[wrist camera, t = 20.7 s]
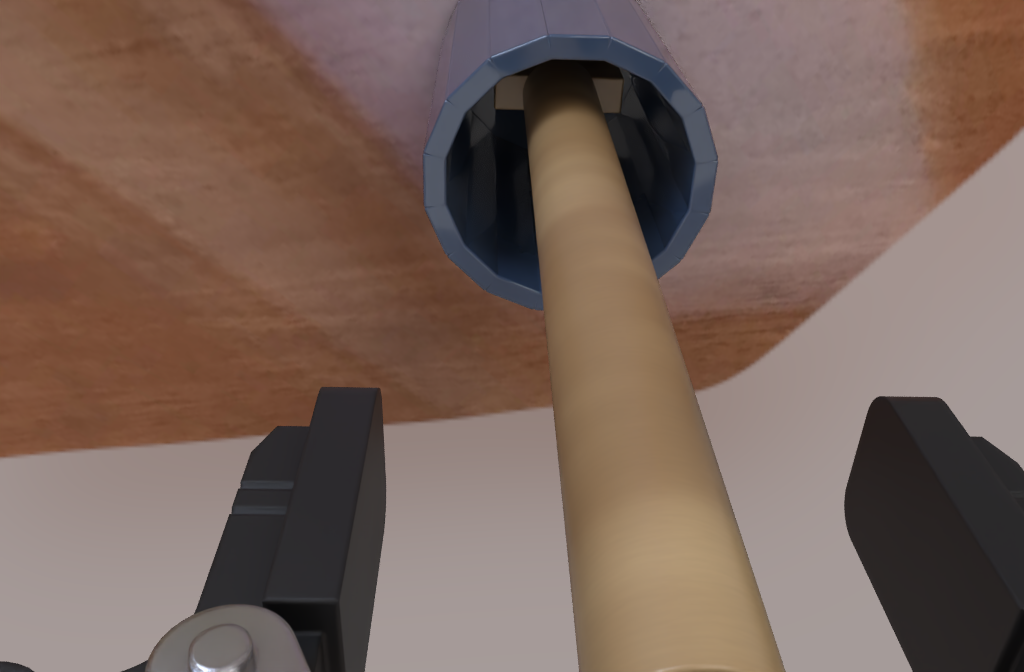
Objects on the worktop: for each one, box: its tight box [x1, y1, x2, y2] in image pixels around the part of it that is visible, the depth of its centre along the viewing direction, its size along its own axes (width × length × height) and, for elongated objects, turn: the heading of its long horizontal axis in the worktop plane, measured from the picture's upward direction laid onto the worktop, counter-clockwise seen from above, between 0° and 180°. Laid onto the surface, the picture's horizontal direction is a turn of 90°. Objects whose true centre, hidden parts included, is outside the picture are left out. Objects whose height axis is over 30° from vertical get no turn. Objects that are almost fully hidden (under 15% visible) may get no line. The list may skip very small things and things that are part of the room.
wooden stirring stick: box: [494, 60, 785, 672], centre depth 18 cm, size 3×2×23 cm, turn 88°
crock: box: [423, 0, 718, 310], centre depth 24 cm, size 6×6×10 cm
